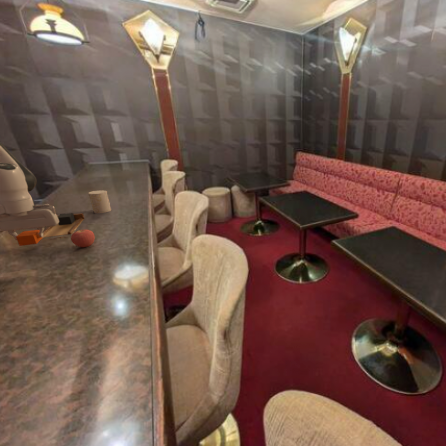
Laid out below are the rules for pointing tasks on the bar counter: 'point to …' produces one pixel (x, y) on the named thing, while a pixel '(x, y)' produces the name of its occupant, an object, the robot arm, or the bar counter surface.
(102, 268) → the bar counter surface
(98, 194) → the cup
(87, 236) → the apple
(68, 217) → the black block
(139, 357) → the bar counter surface
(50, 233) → the jig
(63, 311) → the bar counter surface
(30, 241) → the orange block
